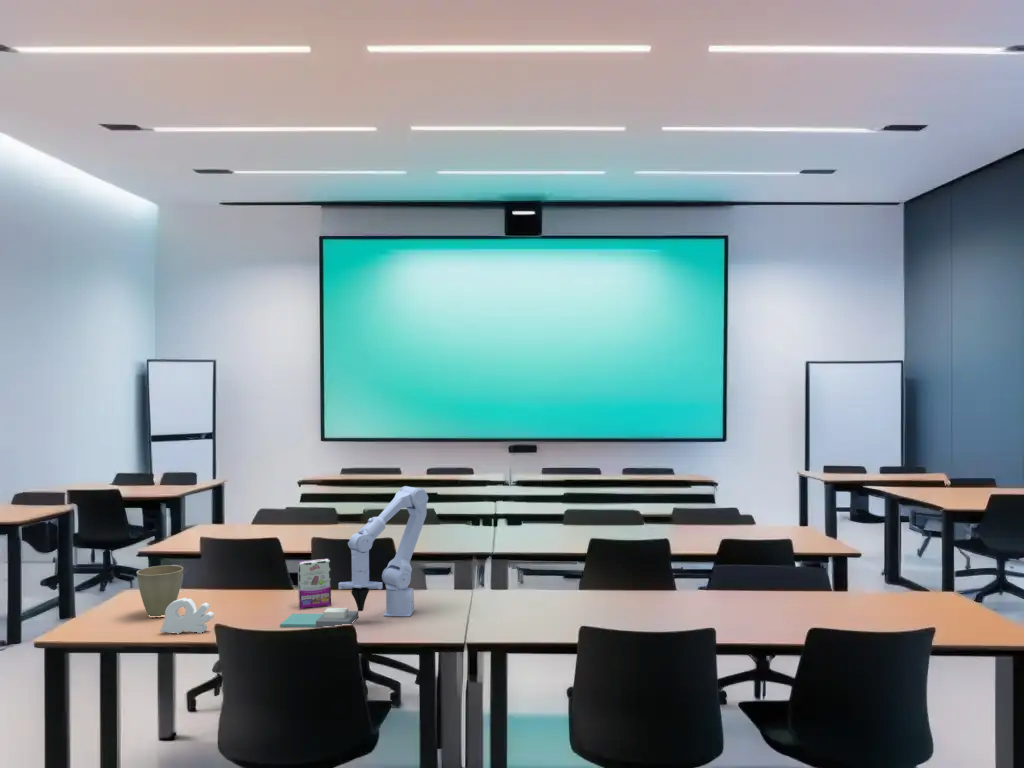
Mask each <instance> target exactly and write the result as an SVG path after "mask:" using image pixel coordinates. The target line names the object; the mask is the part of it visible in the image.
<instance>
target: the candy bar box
mask: <svg viewBox="0 0 1024 768" xmlns="http://www.w3.org/2000/svg"><path fill="white" fill-rule="evenodd" d="M331 584H332V583H331V560H330V559H329V558H320V559H311V560H302V561H300V560H299V561H297V586H298V589H297V590H298V591H297V592H298V607H299V609H300V610H306V609H316V608H323V607H330V606H332V589H331V588H332V587H331V586H332V585H331Z"/></svg>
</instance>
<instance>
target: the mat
mask: <svg viewBox="0 0 1024 768" xmlns="http://www.w3.org/2000/svg"><path fill="white" fill-rule="evenodd" d="M323 614H324V613H292V614H290V616H288V617H287V618H286V619H285V620H284V621H282V622H281V623H280V624H279V627H280V628H317V627H316V621H317V620H318V619H319V618H320V617H321V616H322V615H323Z"/></svg>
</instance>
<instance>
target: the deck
mask: <svg viewBox="0 0 1024 768" xmlns="http://www.w3.org/2000/svg"><path fill="white" fill-rule="evenodd" d="M322 614H323V615H322V616H321V617H320V618H319V619H318V620H317V621H316V627H315V628H324V627H323V626H335V625H342V624H352V625H353V623H354V622H355V621H356V620H357V619H358V618H359V611H358V610H348V615H347V616H346V617H345V618H324V613H322ZM357 617H358V618H357ZM356 618H357V619H356ZM355 619H356V620H355ZM354 620H355V621H354ZM353 621H354V622H353ZM352 622H353V623H352Z"/></svg>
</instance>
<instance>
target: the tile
mask: <svg viewBox="0 0 1024 768" xmlns="http://www.w3.org/2000/svg"><path fill="white" fill-rule="evenodd" d="M348 611H349V607H327V608H326V609H325V610H324V611H323V614H324V618H345V617H346V616H347V615H348Z"/></svg>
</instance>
